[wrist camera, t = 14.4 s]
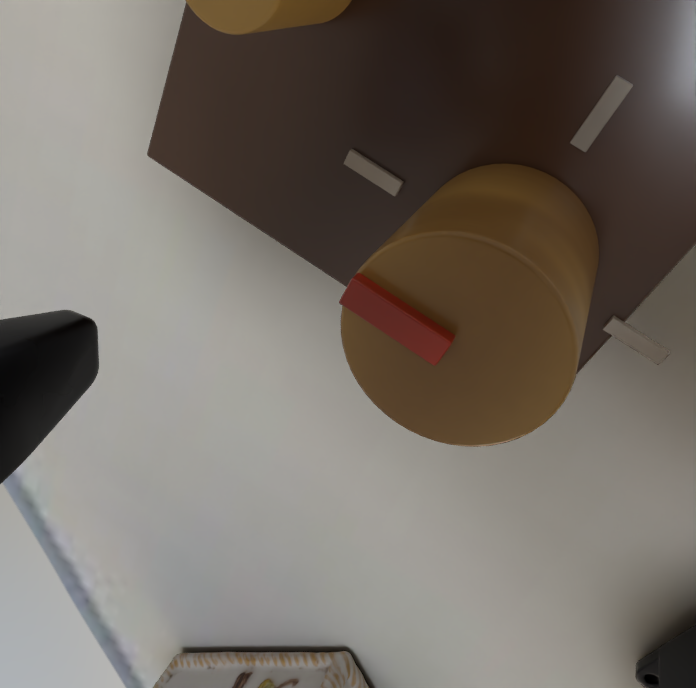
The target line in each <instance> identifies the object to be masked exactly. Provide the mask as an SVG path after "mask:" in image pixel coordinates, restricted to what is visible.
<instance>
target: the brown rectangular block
mask: <svg viewBox="0 0 696 688" xmlns="http://www.w3.org/2000/svg"><path fill="white" fill-rule="evenodd" d="M147 155H148V156H149V157H150V158H152V159H153V160H155V161H156V162H158V163H159V164H161V165H162V166H164V167H165V168H167V169H168V170H170V171H171V172H173V173H174V174H176V175H177V176H179V177H181V178H182V179H184V180H185V181H187V182H188V183H190V184H191V185H193V186H194V187H196V188H197V189H199V190H200V191H202V192H203V193H205V194H206V195H208V196H209V197H211V198H212V199H214V200H215V201H217V202H219V203H220V204H222V205H223V206H225V207H226V208H228V209H229V210H231V211H232V212H234V213H235V214H237V215H238V216H240V217H241V218H243V219H244V220H246V221H247V222H249V223H250V224H252V225H253V226H255V227H257V228H258V229H260V230H261V231H263V232H264V233H266V234H267V235H269V236H270V237H272V238H273V239H275V240H276V241H278V242H279V243H281V244H282V245H284V246H285V247H287V248H288V249H290V250H291V251H293V252H295V253H296V254H298V255H299V256H301V257H302V258H304V259H305V260H307V261H308V262H310V263H311V264H313V265H314V266H316V267H317V268H319V269H320V270H322V271H323V272H325V273H326V274H328V275H329V276H331V277H333V278H334V279H336V280H337V281H339V282H340V283H342V284H343V285H345V286H346V287H347V286H348V284H349V282H350V281H351V279H352V278H353V277H354V276H355V274H356V273H357V271H358V270H359V268H360V267H361V266H362V265H363V264H364V263H365V262H366V260H367V259H368V258H369V257H370V256H371V255H372V254H373V253H374V252H375V251H376V250H377V249H378V248H379V247H380V246H382V245H383V244H384V243H385V242H386V241H387V240H388V239H389V238H390V237H391V236H392V235H393V234H394V233H395V232H396V231H397V230H398V229H399V228H400V227H401V226H402V225H403V224H404V223H405V222H406V221H407V220H408V219H409V218H410V217H411V216H412V215H413V214H414V213H415V212H416V211H417V210H418V209H419V208H420V207H421V206H422V205H423V204H424V203H425V202H426V201H427V200H428V199H429V198H430V197H431V196H432V195H434V194H435V193H436V192H437V191H438V190H439V189H440V188H441V187H442V186H443V185H444V184H446V183H447V182H448V181H449V180H451V179H453V178H454V177H456V176H457V175H459V174H461V173H463V172H466V171H468V170H470V169H474V168H477V167H480V166H485V165H491V164H517V165H523V166H527V167H531V168H534V169H537V170H540V171H542V172H545V173H547V174H549V175H551V176H552V177H554V178H556V179H558V180H559V181H560V182H562V183H563V184H564V185H566V186H567V187H568V188H569V189H570V190H571V191H572V192H573V193H574V194H575V195H576V196H577V197H578V198H579V199H580V201H581V202H582V203H583V204H584V206H585V208H586V209H587V211H588V213H589V214H590V216H591V219H592V221H593V224H594V226H595V229H596V233H597V237H598V244H599V264H598V269H597V274H596V279H595V284H594V289H593V294H592V298H591V303H590V308H589V313H588V318H587V323H586V328H585V333H584V338H583V343H582V348H581V353H580V358H579V363H578V368H577V373H578V372H579V371H580V370H581V369H582V368H583V367H584V365H585V364H586V363H587V362H588V361H589V360H590V359H591V358H592V357H593V356H594V355H595V354H596V352H597V351H598V350H599V349H600V348H601V347H602V346H603V345H604V344H605V343H606V342H607V340H608V339H609V338H610V337H611V336H614V337H615V338H617V339H618V340H620V341H621V342H623V343H625V344H626V345H628V346H629V347H631V348H632V349H634V350H636V351H637V352H639V353H640V354H642V355H643V356H645V357H646V358H648V359H650V360H651V361H653V362H654V363H656V364H657V365H659V364H660V363H661V362H662V361H663V360H664V359H665V358H666V357H667V356H668V355H669V354H670V352H669V350H668V349H666V348H664V347H663V346H661V345H660V344H658V343H657V342H655V341H653V340H652V339H650V338H649V337H647V336H646V335H644V334H642V333H641V332H639V331H638V330H636V329H635V328H633V327H631V326H630V325H628V324H627V323H625V321H626V320H627V319H628V318H629V316H630V315H631V314H632V313H633V312H634V311H635V310H636V309H637V308H638V307H639V306H640V304H641V303H642V302H643V301H644V300H645V299H646V298H647V297H648V296H649V295H650V294H651V292H652V291H653V290H654V289H655V288H656V287H657V286H658V285H659V284H660V283H661V282H662V280H663V279H664V278H665V277H666V276H667V275H668V274H669V273H670V272H671V271H672V270H673V268H674V267H675V266H676V265H677V264H678V263H679V262H680V261H681V260H682V259H683V258H684V256H685V255H686V254H687V253H688V252H689V251H690V250H691V249H692V248H693V247H694V246H695V245H696V0H351V2H350V4H349V5H348V6H347V7H346V9H345V10H344V11H343V12H342V13H340V14H339V15H338V16H337V17H335V18H334V19H332V20H329V21H327V22H324V23H319V24H312V25H305V26H298V27H291V28H284V29H277V30H270V31H263V32H256V33H249V34H242V35H231V34H226V33H223V32H220V31H217V30H216V29H214V28H212V27H210V26H209V25H207V24H206V23H205V22H203V21H202V20H201V19H200V18H199V17H198V16H197V15H196V14H195V13H194V12H193V10H192V9H191V8H190V6H189V5H188V4H187V2H186V6H185V9H184V13H183V17H182V21H181V25H180V29H179V33H178V37H177V40H176V44H175V48H174V52H173V56H172V60H171V64H170V67H169V71H168V75H167V79H166V83H165V87H164V91H163V95H162V98H161V102H160V106H159V110H158V114H157V118H156V122H155V126H154V129H153V133H152V137H151V141H150V145H149V149H148V153H147ZM577 373H576V374H577Z"/></svg>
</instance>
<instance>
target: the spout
mask: <svg viewBox="0 0 696 688" xmlns="http://www.w3.org/2000/svg"><path fill="white" fill-rule="evenodd" d="M186 2H187V4H188V5H189V6H190V8H191V9H192V10H193V12H194V13H195V14H196V15H197V16H198V17H199V18H200V19H201V20H202V21H203V22H205V23H206V24H207V25H209V26H210V27H212V28H214V29H216V30H217V31H220V32H223V33H226V34H231V35H242V34H249V33H256V32H263V31H270V30H277V29H284V28H291V27H298V26H305V25H312V24H319V23H324V22H327V21H329V20H332V19H334V18H335V17H337V16H338V15H339V14H340V13H342V12H343V11H344V10H345V9H346V7H347V6H348V5H349V4H350V2H351V0H186Z"/></svg>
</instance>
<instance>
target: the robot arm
mask: <svg viewBox="0 0 696 688" xmlns="http://www.w3.org/2000/svg"><path fill="white" fill-rule="evenodd" d="M98 369H99V355H98V330H97V326H96V324H95V322H94V321H93V320H92V319H90V318H88V317H86V316H84V315H81V314H79V313H77V312H74V311H71V310H60V311H54V312H48V313H41V314H35V315H28V316H22V317H16V318H9V319H3V320H0V484H1V483H2V482H3V481H4V480H5V479H6V478H7V477H8V476H9V475H11V474H12V473H13V472H14V471H15V470H16V469H17V468H18V467H19V466H20V465H21V464H22V463H23V462H24V461H25V460H26V458H27V457H28V456H29V455H30V454H31V453H32V452H33V451H34V450H35V449H36V448H37V446H38V445H39V444H40V443H41V442H42V441H43V440H44V438H45V437H46V436H47V435H48V434H49V433H50V432H51V430H52V429H53V428H54V427H55V426H56V425H57V424H58V422H59V421H60V420H61V419H62V418H63V417H64V416H65V414H66V413H67V412H68V411H69V410H70V409H71V408H72V406H73V405H74V404H75V403H76V402H77V401H78V400H79V398H80V397H81V396H82V395H83V394H84V393H85V391H86V390H87V389H88V388H89V387H90V386H91V384H92V383H93V382H94V380H95V378H96V376H97V373H98ZM636 679H637V681H638V682H639V683H640V684H641V685H642V686H644V687H645V688H696V625H695V626H693V627H691V628H690V629H688V630H687V631H685V632H683V633H682V634H680V635H678V636H677V637H675V638H673V639H672V640H670V641H669V642H667V643H665V644H664V645H662V646H661V647H660V648H659V649H657V650H655V651H654V652H652V653H650V654H649V655H647V656H645V657H644V658H642V659H641V660H639V661H638V662H637V663H636Z"/></svg>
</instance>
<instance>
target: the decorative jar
mask: <svg viewBox="0 0 696 688" xmlns="http://www.w3.org/2000/svg"><path fill="white" fill-rule="evenodd" d="M153 688H369V687H368V685H367V683H366V681H365V679H364V677H363V675H362V673H361V671H360V670H359V669H358V667H357V666H356V664H355V662H354V660H353V658H352V656H351V654H350V653H349V652H346V651H341V652H329V653H325V652H319V653H313V652H212V653H209V652H207V653H182V654H177V655H176V656H175V657H174V658H173V660H172V662H171V663H170V664H169V666H168V667H167V669H166V670H165V671H164V673H163V674H162V675H161V677H160V678H159V680H158V681H157V682H156V684H155V685H154V687H153Z"/></svg>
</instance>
